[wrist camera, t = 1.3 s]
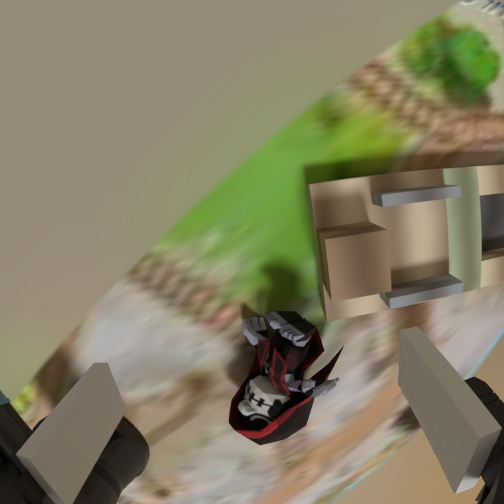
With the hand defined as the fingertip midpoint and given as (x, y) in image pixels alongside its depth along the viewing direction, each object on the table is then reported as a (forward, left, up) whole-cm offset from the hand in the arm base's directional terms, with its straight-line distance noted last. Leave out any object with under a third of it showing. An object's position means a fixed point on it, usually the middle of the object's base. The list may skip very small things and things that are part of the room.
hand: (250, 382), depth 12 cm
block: (+8, 0, -17) cm, 19 cm away
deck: (+18, 0, -20) cm, 27 cm away
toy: (0, -12, -21) cm, 24 cm away
